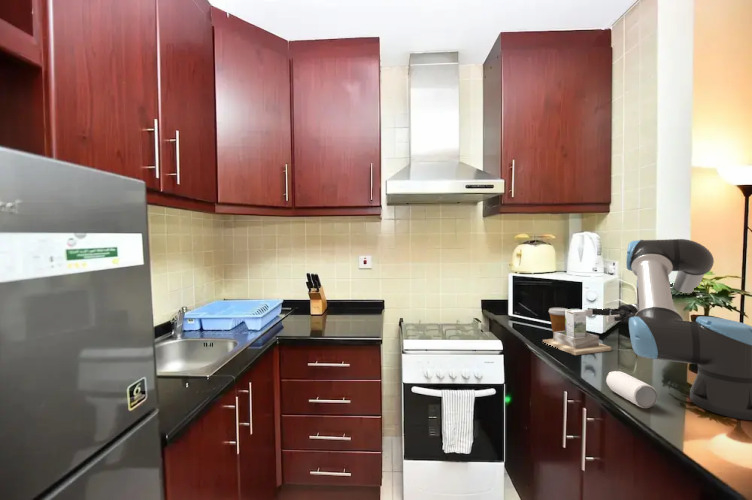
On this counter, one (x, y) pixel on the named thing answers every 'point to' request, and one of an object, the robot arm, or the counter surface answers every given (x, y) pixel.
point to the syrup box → (575, 323)
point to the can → (632, 389)
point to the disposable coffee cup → (557, 319)
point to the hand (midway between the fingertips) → (593, 316)
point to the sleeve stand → (577, 343)
